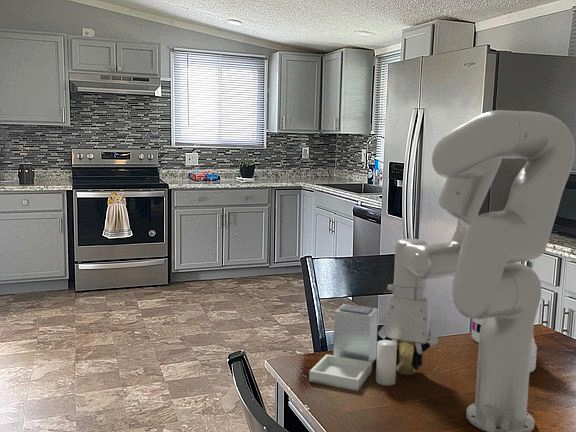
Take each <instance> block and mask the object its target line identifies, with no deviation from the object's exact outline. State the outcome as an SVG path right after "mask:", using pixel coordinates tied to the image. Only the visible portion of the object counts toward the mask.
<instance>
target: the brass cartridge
mask: <svg viewBox="0 0 576 432" xmlns="http://www.w3.org/2000/svg"><path fill="white" fill-rule="evenodd" d="M397 345H398V353H397V366H396V373H398V374H401V375H406V376H407V375H414V374H416V372H417V370H415V369H414V361H415V353H416V350H417V348H416V343H415V342H408V341H402V340H398V344H397Z"/></svg>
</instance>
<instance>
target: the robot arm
mask: <svg viewBox="0 0 576 432" xmlns="http://www.w3.org/2000/svg"><path fill="white" fill-rule="evenodd" d="M575 145H576V144H575V139H574V137H573V135H572V133H571V130H570V129H569V127H568V126H567V124H565V123H564V122H563V121H562V120H561V119H560V118H557V117H556V116H554V115H551V114H548V113H545V112H539V111H531V110H507V109H506V110H505V109H497V110H489V111H486V112H483V113H482V114H480V115H477V116H476V117H474V118H472V119H470V120H469V121H467V122H465V123H464V124H461V125H460V126H458V127H456V128H455V129H453V130H451V131H449V132H448V133H447V134H445V135H444V136H443V137H441V138H440V140H439V141H438V142H437V143H436V145H435V147H434V148H433V152H432V157H431V164H432V167H433V170H434V171H435V172H436V174H438V175H439V176H440V177H443V178H446V180H445V183H444V185H443V187H442V190H441V191H440V194H439V197H438V205H439V206H440V208H441V209H442V210H443V211H444V212H445V213H447V214H449V215H450V216H451V217H453V218H455V219H457V225H456V229H455V231H454V233H453V235H452V238H451V240H450V241H449V242H442V243H432V244H430V243H429V244H428V243H427V242H426V241H425V240H423V239H419V238H401V239H399V240H397V242H396V244H395V247H394V272H393V283H392V284H389V283H388V284H387V290H388V291H390V292H391V293H392V294H391V295H389V297H388V301H387V308H386V313H385V323H384V325H383V326H382V327H381V328H380V330H379V331H377V336H379V337H380V338H382V340H390V341H394V342H396V343H397V353H398V340H402V341H408V342H415V343H416V348H417V350H416V353H415V361H414V369H415V370H416V371H418V370H419V368H420V367H422V365H423V353H424V352H426V351H427V350H428V349H429V348H431V347H434V346H436V345H437V344H438V343H439V338H438V337H437V335H436V334H435V332H434V330H433V328H432V326H431V322H432V321H431V307H430V300H429V298H428V297H427V282H428V280H431V279H440V278H445V277H446V278H447V277H453V281H452V287H451V294H452V299H453V304H454V306H455V307H456V310H457V311H458V312H459V313H460V314H461V315H462V316H464V317H466V318H468V319H472V320H473V319H483V321H482V324H481V328H480V335H479V343H478V348H477V349H478V351H477V352H478V354H477V365H476V383H475V399H474V402H473V403H472V404H469V405H468V407H467V408H466V411H465V413H466V415H465V416H466V419H467V420H468V422H469V423H470V424H472V425H473V426H474V427H476V428H477V429H479V430H481V431H484V432H533V431H534V428H535V418H533V416H532V415H531V414H530V413H529V412H528V409H527V408H528V396H529V385H530V373H531V372H530V359H531V348H532V336H533V337H534V327H535V321H536V317H537V313H538V309H539V305H540V304H541V303H540V302H541V298H542V285H541V281H540V278H539V276H538V274H537V273H536V272H535V270H533V269H532V268H531V267H530V266H528V265H525V264H523V263H520V262H528V261H532V260H536V259H537V258H539V257H541V256H542V255H543V254H544V253H545V251H546V249H547V246H548V244H549V240H550V238H551V234H552V231H553V226H554V223H555V220H556V217H557V214H558V211H559V208H560V202H561V199H562V196H563V192H564V189H565V187H566V184H567V182H568V180H569V176H570V174H571V171H572V169H573V165H574V161H575V155H576V146H575ZM503 159H524V160H526V163H525V164H524V166H523V167H522V168H521V170H520V171H519V172H518V174H517V175H516V177H515V178H514V181H512V185H511V188H510V191H509V196H508V199H507V203H506V204H505V207H504V208H503V209H502V210H499V211H489V212H488V211H487V212H485V213H481V214H479V213H480V210H481V208H482V205H483V204H484V200H485V198H486V196H487V195H488V192H489V190H490V188H491V186H492V183H493V181H494V179H495V178H496V175H497V173H498V170H499V168H500V166H501V163H502V160H503ZM429 339H430V340H429ZM396 367H397V357H396Z"/></svg>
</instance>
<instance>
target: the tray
mask: <svg viewBox="0 0 576 432" xmlns="http://www.w3.org/2000/svg"><path fill="white" fill-rule="evenodd" d="M372 369H373V363H372V362H369V361H363V360H357V359H351V358H345V357H340V356H334V355H332V354H327V353H326V354H325V355H324V356H323V357H321V359H320V360H319V361H318V362H317V363H316V364H315V365H314V366H313V367H312V368H311V369H310V370H309V373H308V374H309V375H308V377H309V378H308V380H309V381H308V382H309V383H315V384H320V385H324V386H325V385H326V386H330V387H335V388H340V389H347V390H351V391H357V392H358V391H359V390H360V389H361V388H362V386H363V385H364V383H365V382H366V381H367V379H368V378H369V376H370V375H371V373H372V372H373V371H372Z"/></svg>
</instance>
